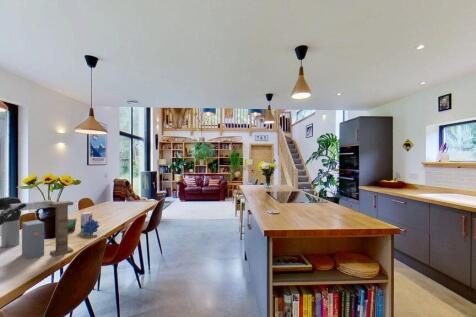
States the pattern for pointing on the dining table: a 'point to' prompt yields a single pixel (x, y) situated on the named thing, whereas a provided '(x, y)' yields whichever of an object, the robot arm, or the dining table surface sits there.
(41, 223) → the block
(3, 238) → the robot arm
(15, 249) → the dining table surface
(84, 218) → the supplement can
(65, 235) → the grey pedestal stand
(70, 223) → the food container
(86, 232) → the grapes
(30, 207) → the steel spout bar
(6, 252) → the dining table surface
